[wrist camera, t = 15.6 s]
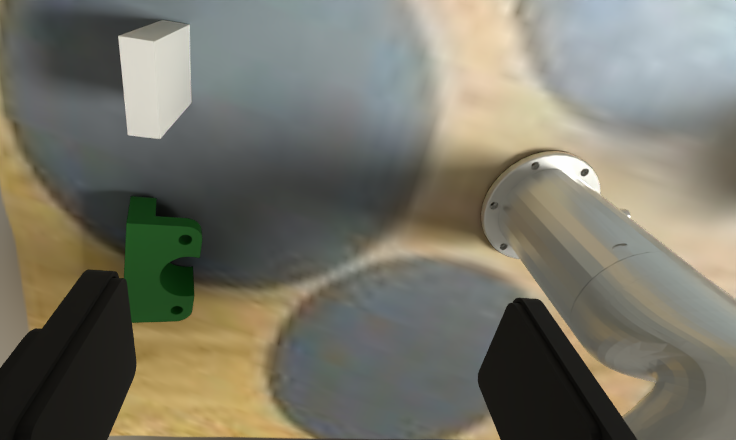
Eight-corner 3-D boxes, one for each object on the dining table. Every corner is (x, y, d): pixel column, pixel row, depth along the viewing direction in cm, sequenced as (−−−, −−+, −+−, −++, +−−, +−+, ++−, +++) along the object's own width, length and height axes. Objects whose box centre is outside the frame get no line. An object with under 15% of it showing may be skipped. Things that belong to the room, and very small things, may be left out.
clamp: (190, 251, 49) (188, 327, 44) (130, 249, 47) (122, 330, 42) (203, 186, 41) (204, 272, 36) (131, 179, 38) (121, 270, 33)
